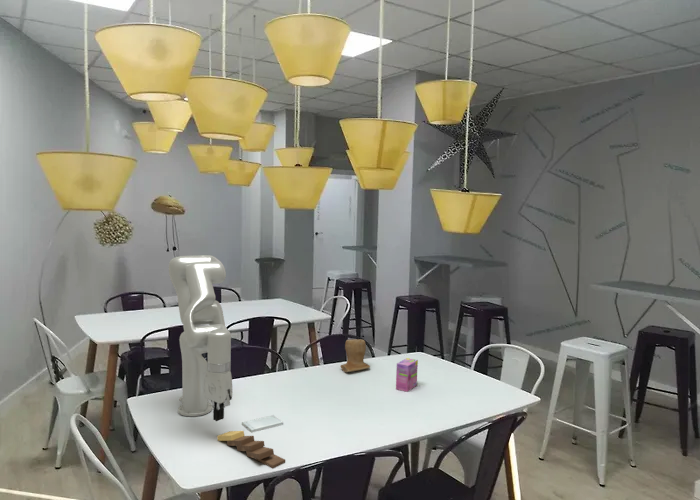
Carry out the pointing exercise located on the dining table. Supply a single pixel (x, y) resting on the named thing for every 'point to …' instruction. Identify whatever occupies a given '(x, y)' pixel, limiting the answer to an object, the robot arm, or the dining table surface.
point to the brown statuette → (355, 355)
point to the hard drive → (262, 423)
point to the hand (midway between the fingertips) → (218, 419)
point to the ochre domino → (230, 435)
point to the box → (406, 374)
